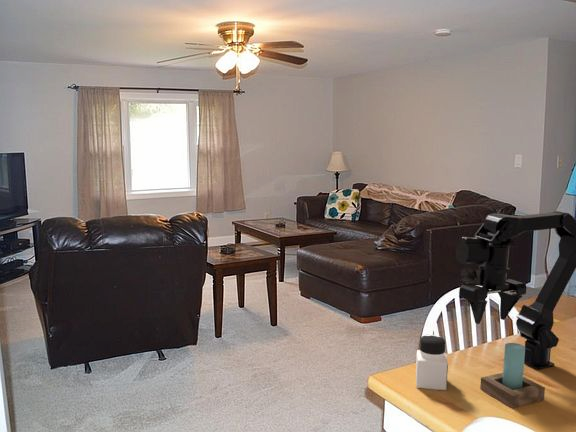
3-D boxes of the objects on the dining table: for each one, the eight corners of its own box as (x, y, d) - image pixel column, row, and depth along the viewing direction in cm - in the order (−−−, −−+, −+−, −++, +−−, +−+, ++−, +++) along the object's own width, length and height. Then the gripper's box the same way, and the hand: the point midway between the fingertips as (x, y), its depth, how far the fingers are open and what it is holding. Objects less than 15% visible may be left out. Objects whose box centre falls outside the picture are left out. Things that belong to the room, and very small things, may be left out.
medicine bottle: (446, 391, 130) (449, 343, 129) (416, 388, 132) (418, 341, 130) (444, 378, 137) (446, 333, 135) (415, 375, 139) (417, 331, 137)
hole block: (510, 381, 135) (511, 370, 135) (544, 399, 126) (545, 387, 126) (480, 389, 131) (480, 377, 131) (512, 408, 122) (513, 395, 122)
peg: (504, 388, 132) (508, 341, 130) (523, 393, 129) (527, 345, 127) (499, 394, 128) (502, 346, 127) (518, 400, 126) (522, 351, 124)
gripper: (496, 254, 150) (490, 308, 152) (446, 258, 141) (441, 316, 143) (530, 263, 140) (524, 320, 142) (478, 268, 131) (473, 329, 134)
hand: (490, 321), depth 141 cm, fingers open, 9 cm apart
